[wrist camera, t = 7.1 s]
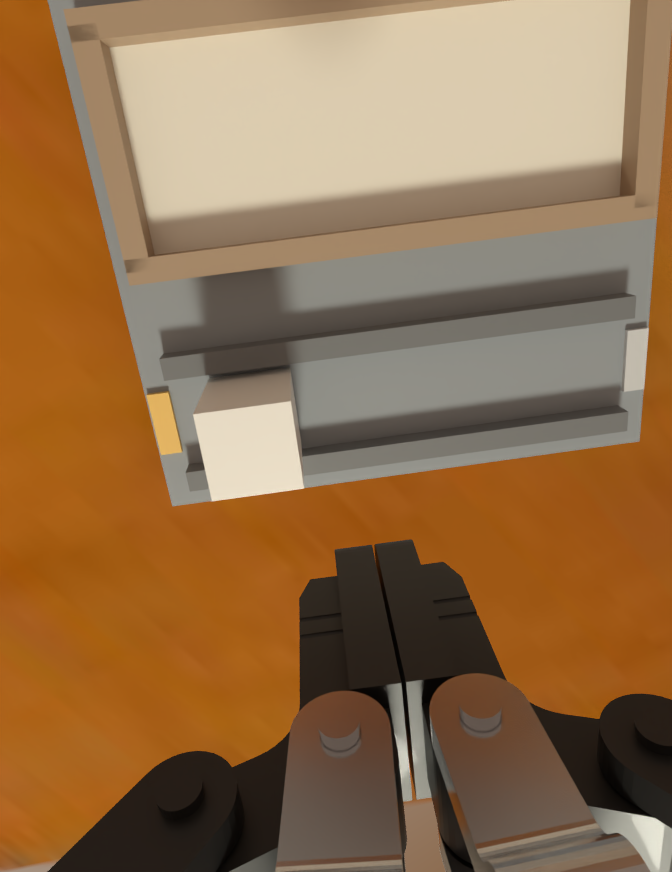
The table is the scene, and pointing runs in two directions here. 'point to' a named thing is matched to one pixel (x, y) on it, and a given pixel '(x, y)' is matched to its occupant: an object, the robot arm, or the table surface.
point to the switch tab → (250, 434)
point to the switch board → (381, 216)
